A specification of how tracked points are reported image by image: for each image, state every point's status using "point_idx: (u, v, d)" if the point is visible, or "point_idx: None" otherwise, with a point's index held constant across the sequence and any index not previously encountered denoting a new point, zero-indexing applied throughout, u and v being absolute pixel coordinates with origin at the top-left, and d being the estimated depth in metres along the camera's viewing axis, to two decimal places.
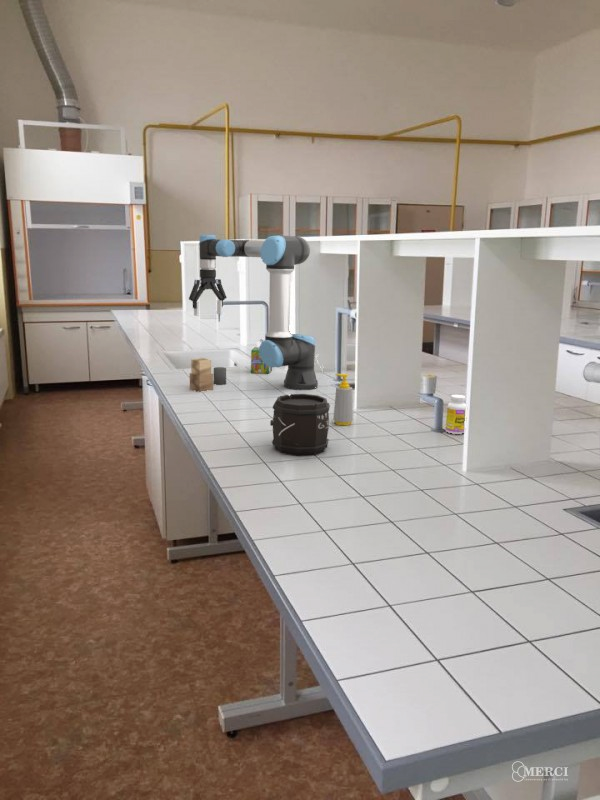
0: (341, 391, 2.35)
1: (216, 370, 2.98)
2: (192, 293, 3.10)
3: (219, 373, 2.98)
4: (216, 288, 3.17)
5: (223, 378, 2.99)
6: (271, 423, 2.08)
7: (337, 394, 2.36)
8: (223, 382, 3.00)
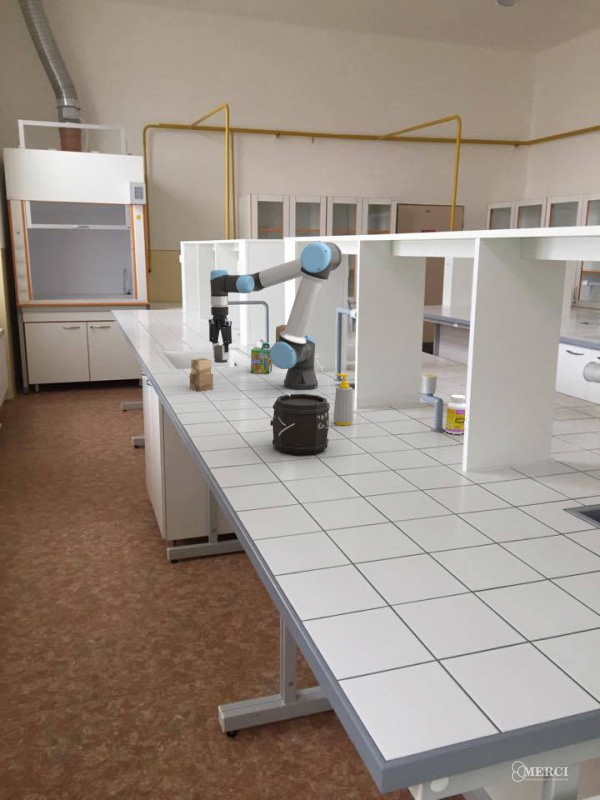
0: (341, 391, 2.35)
1: (217, 348, 2.96)
2: None
3: (219, 351, 2.96)
4: (220, 329, 2.94)
5: None
6: (271, 423, 2.08)
7: (337, 394, 2.36)
8: (223, 360, 2.97)
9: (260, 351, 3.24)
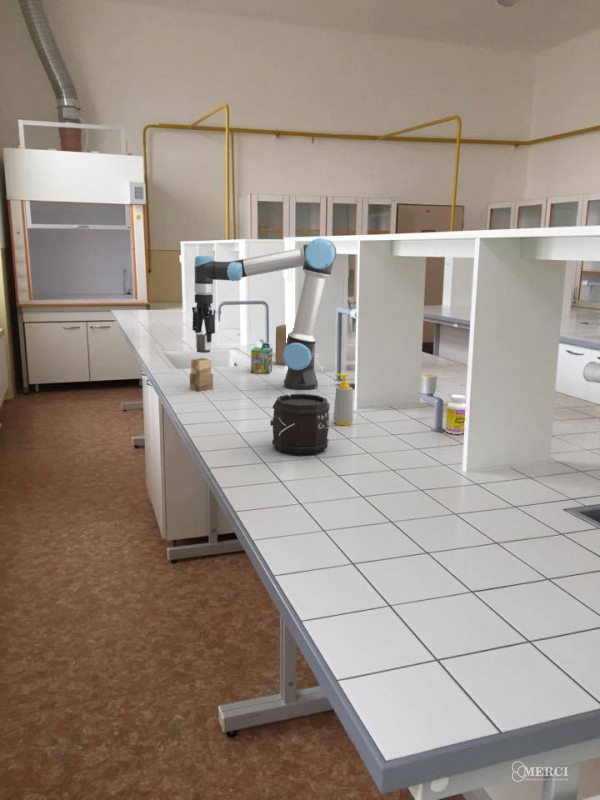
0: (341, 391, 2.35)
1: (199, 337, 2.84)
2: None
3: (202, 340, 2.84)
4: (204, 317, 2.82)
5: None
6: (271, 423, 2.08)
7: (337, 394, 2.36)
8: (206, 350, 2.85)
9: (260, 351, 3.24)
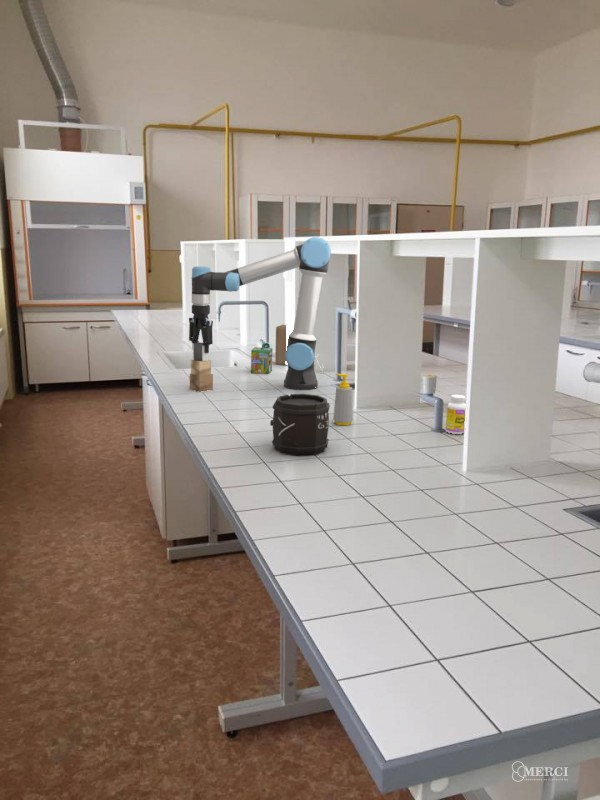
0: (341, 391, 2.35)
1: (196, 345, 2.82)
2: None
3: (199, 348, 2.82)
4: (201, 328, 2.80)
5: None
6: (271, 423, 2.08)
7: (337, 394, 2.36)
8: None
9: (260, 351, 3.24)
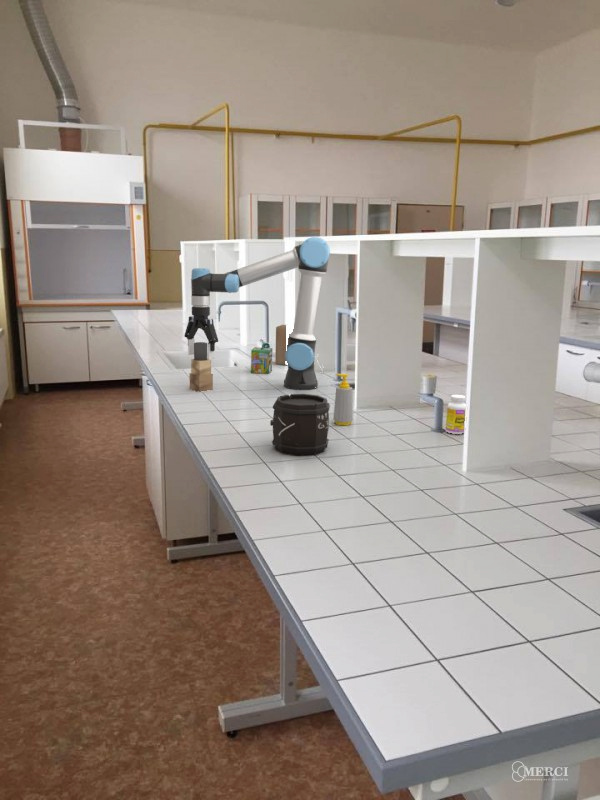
0: (341, 391, 2.35)
1: (197, 345, 2.82)
2: None
3: (199, 348, 2.82)
4: (203, 328, 2.79)
5: (204, 353, 2.84)
6: (271, 423, 2.08)
7: (337, 394, 2.36)
8: (203, 358, 2.84)
9: (260, 351, 3.24)
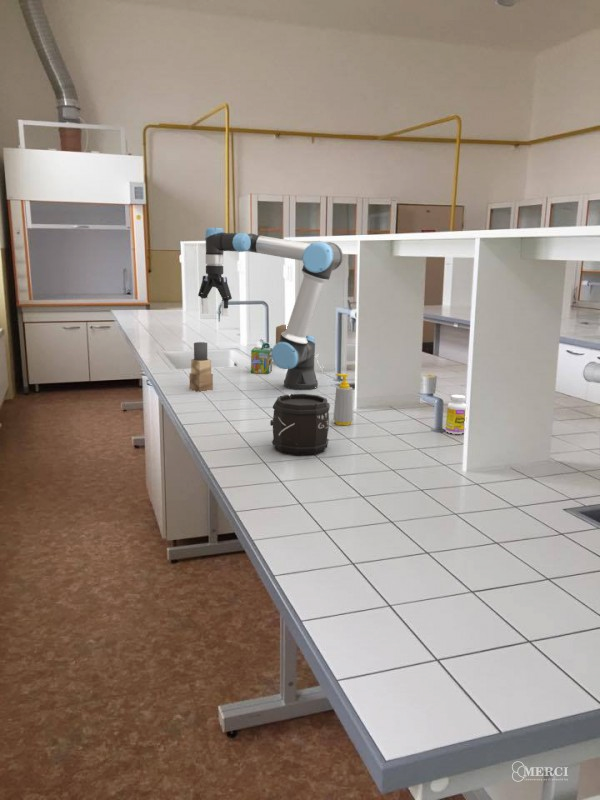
0: (341, 391, 2.35)
1: (196, 345, 2.82)
2: None
3: (199, 348, 2.82)
4: (217, 286, 2.88)
5: (204, 353, 2.84)
6: (271, 423, 2.08)
7: (337, 394, 2.36)
8: (203, 358, 2.84)
9: (260, 351, 3.24)
